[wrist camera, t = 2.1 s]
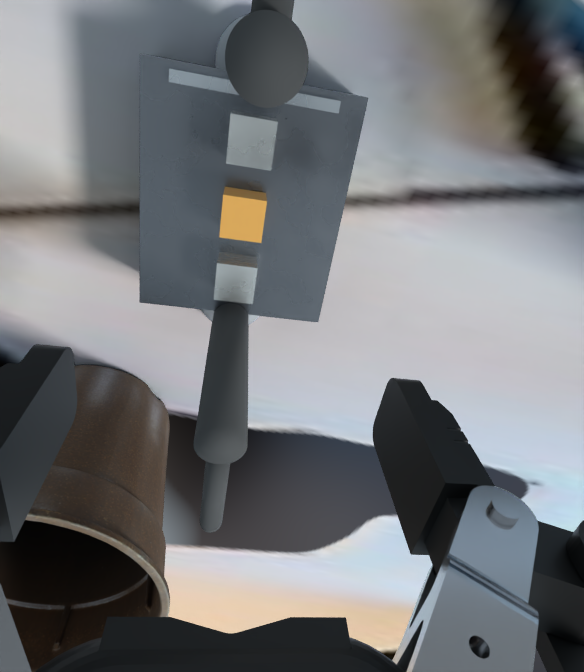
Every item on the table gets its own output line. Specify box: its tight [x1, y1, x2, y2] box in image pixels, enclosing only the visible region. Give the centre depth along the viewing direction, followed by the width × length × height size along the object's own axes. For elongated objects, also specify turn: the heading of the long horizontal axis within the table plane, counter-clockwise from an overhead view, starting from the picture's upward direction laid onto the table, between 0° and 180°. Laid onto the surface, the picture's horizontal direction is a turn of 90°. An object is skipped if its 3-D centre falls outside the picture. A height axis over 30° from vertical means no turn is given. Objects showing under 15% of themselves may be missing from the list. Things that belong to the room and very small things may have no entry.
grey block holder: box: [140, 54, 368, 322], centre depth 28 cm, size 12×14×6 cm
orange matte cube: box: [219, 187, 267, 243], centre depth 26 cm, size 2×2×2 cm
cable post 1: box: [194, 303, 259, 532], centre depth 28 cm, size 5×10×16 cm, turn 170°
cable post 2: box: [215, 0, 308, 108], centre depth 19 cm, size 5×10×16 cm, turn 171°
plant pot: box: [0, 365, 170, 672], centre depth 32 cm, size 16×16×16 cm
